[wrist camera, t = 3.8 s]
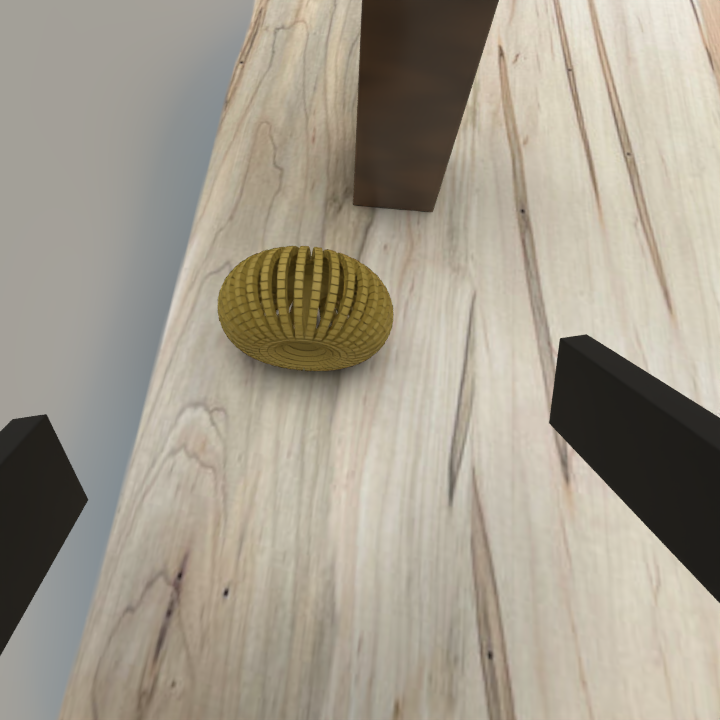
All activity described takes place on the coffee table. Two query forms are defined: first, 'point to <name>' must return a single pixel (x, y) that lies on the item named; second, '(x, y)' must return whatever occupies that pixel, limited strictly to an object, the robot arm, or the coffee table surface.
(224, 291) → the sculpture
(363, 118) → the stand post
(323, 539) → the coffee table surface
